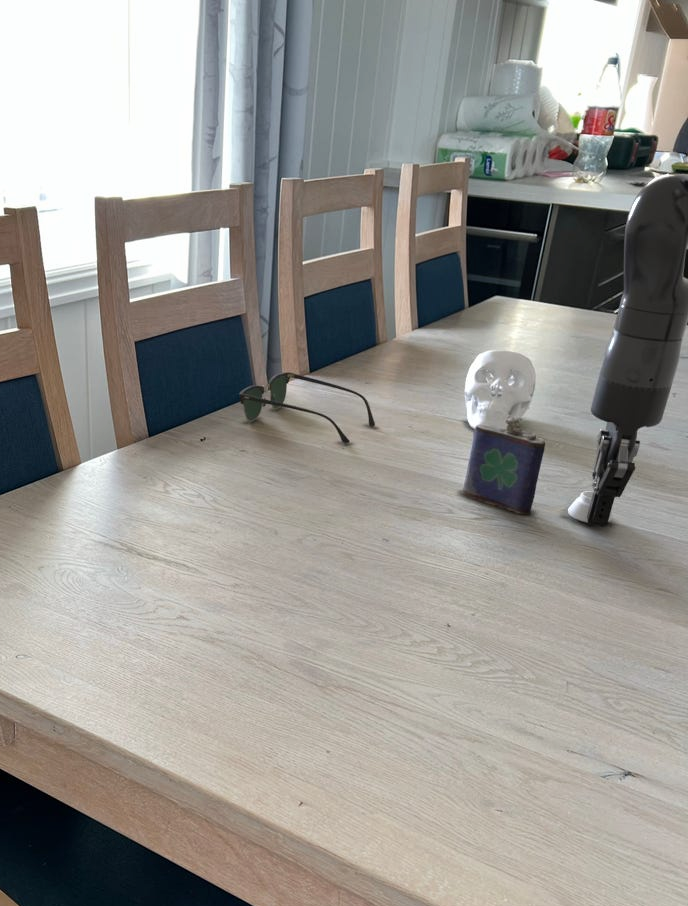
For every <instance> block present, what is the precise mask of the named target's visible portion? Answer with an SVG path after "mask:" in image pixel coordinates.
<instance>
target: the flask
mask: <svg viewBox="0 0 688 906" xmlns="http://www.w3.org/2000/svg"><path fill="white" fill-rule="evenodd" d="M522 420H523V418H522V417H521V418H516V419H515V418H514V417H513V418H512V419H510V420H508V419H506V423H507V424H508V425H507V429H504V428H500V427H496V426H493V425H486V424H479V425H477V426H476V427H475V429H474V430H473V437H472V443H471V448H470V454H469V458H468V463H467V469H466V474H465V477H464V481H463V487H462V494H463V495H465V496H466V497H468V498H470V499H476V500H478V501H481V502H483V503H486V504H488V505H494V506H498V507H499V508H503V509H506V510H508V511H512V512H514V513H515V514H522V515H528V514H530V513H531V511H532V507H533V503H534V499H535V496H536V490H537V485H538V480H539V474H540V471H541V466H542V462H543V457H544V453H545V449H546V448H545V447H546V442H545V440H544V439H543V438H540V437H537V435H536V433H532V432H529V434H528V433H527V431H525V430H524V428H523V426H521V425H518V424H519V423H520V421H522Z"/></svg>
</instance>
